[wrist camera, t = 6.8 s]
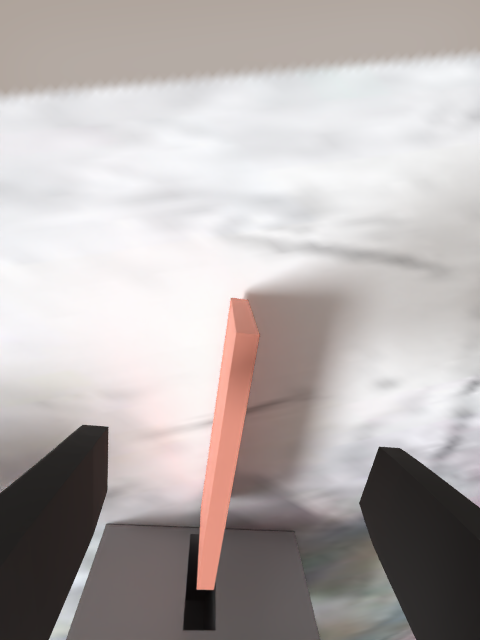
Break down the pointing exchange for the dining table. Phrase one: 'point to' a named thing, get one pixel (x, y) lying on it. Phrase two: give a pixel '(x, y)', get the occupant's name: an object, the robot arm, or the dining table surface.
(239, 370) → the salmon pink plank
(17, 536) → the robot arm
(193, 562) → the grey slotted box
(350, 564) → the dining table surface
